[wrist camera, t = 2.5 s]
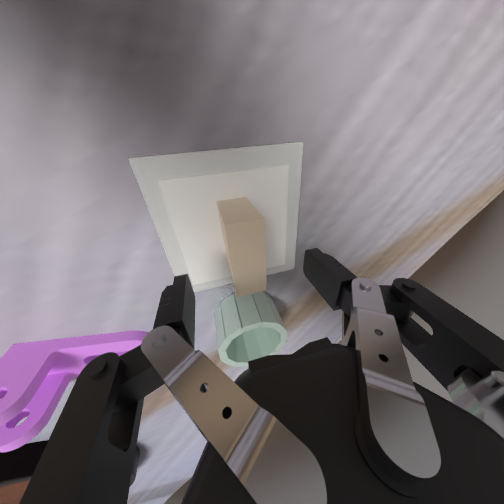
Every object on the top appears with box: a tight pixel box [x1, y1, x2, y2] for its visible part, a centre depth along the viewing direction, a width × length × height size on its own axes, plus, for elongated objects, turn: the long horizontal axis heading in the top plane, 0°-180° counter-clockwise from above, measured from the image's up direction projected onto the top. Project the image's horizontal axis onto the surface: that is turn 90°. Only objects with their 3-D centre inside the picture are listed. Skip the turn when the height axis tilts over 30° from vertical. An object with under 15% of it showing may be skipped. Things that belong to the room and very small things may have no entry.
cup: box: [214, 291, 287, 367], centre depth 23 cm, size 8×8×5 cm
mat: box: [128, 142, 304, 292], centre depth 17 cm, size 13×13×1 cm
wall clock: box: [0, 440, 140, 504], centre depth 32 cm, size 31×4×31 cm
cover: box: [158, 165, 289, 297], centre depth 14 cm, size 10×10×6 cm
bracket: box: [0, 331, 148, 452], centre depth 19 cm, size 13×6×7 cm, turn 80°
